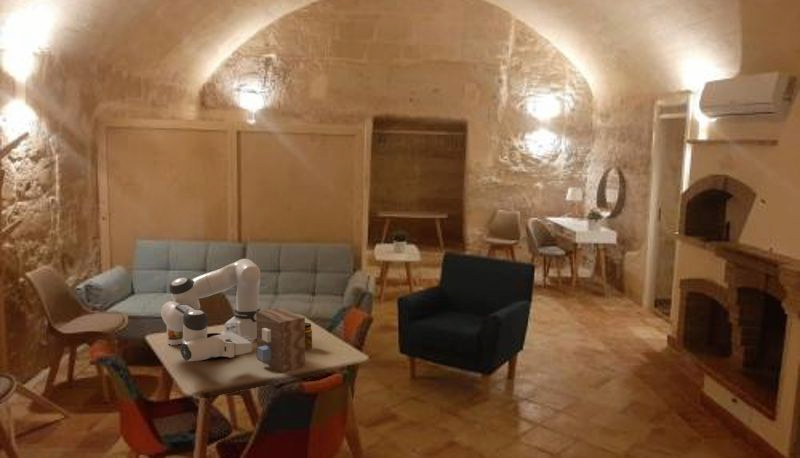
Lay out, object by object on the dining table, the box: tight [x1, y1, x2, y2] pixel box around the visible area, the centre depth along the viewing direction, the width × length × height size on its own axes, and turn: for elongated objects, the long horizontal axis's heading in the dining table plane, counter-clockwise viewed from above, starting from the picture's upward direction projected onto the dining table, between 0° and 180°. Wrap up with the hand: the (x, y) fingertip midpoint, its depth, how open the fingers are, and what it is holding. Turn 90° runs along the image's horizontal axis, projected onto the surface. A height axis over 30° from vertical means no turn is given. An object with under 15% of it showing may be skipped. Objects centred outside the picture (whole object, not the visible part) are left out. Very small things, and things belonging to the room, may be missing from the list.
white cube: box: [262, 328, 271, 342], centre depth 274 cm, size 5×5×5 cm
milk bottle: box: [166, 326, 183, 346], centre depth 304 cm, size 8×8×20 cm
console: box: [256, 307, 306, 373], centre depth 278 cm, size 12×22×22 cm, turn 39°
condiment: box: [305, 322, 316, 352], centre depth 298 cm, size 7×8×12 cm
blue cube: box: [256, 345, 272, 362], centre depth 274 cm, size 5×5×5 cm
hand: (252, 339), depth 269 cm, fingers closed
